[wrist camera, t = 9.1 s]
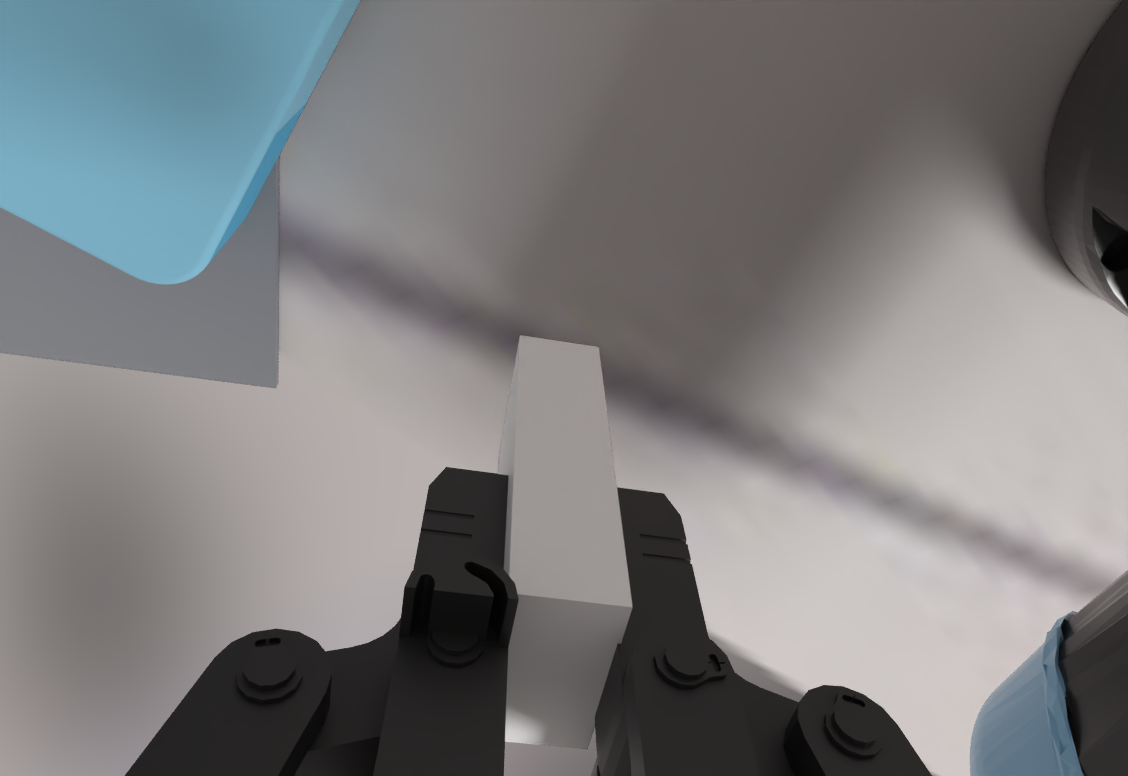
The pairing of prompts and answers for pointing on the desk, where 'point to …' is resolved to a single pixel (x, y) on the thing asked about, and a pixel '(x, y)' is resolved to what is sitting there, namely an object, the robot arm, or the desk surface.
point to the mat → (147, 304)
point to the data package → (152, 118)
